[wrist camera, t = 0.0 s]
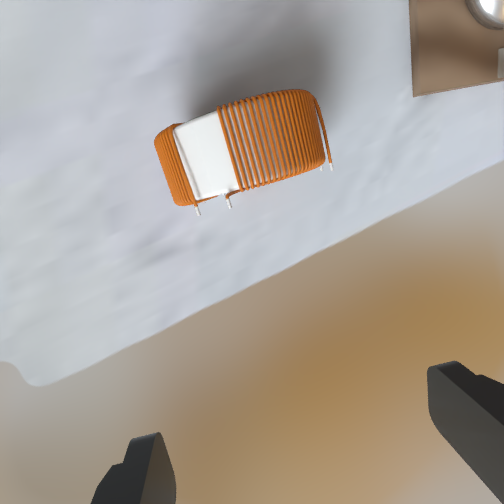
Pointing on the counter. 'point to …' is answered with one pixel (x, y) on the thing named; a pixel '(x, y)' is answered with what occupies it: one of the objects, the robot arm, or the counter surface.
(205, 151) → the coil
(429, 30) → the board
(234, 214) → the counter surface
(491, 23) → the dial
